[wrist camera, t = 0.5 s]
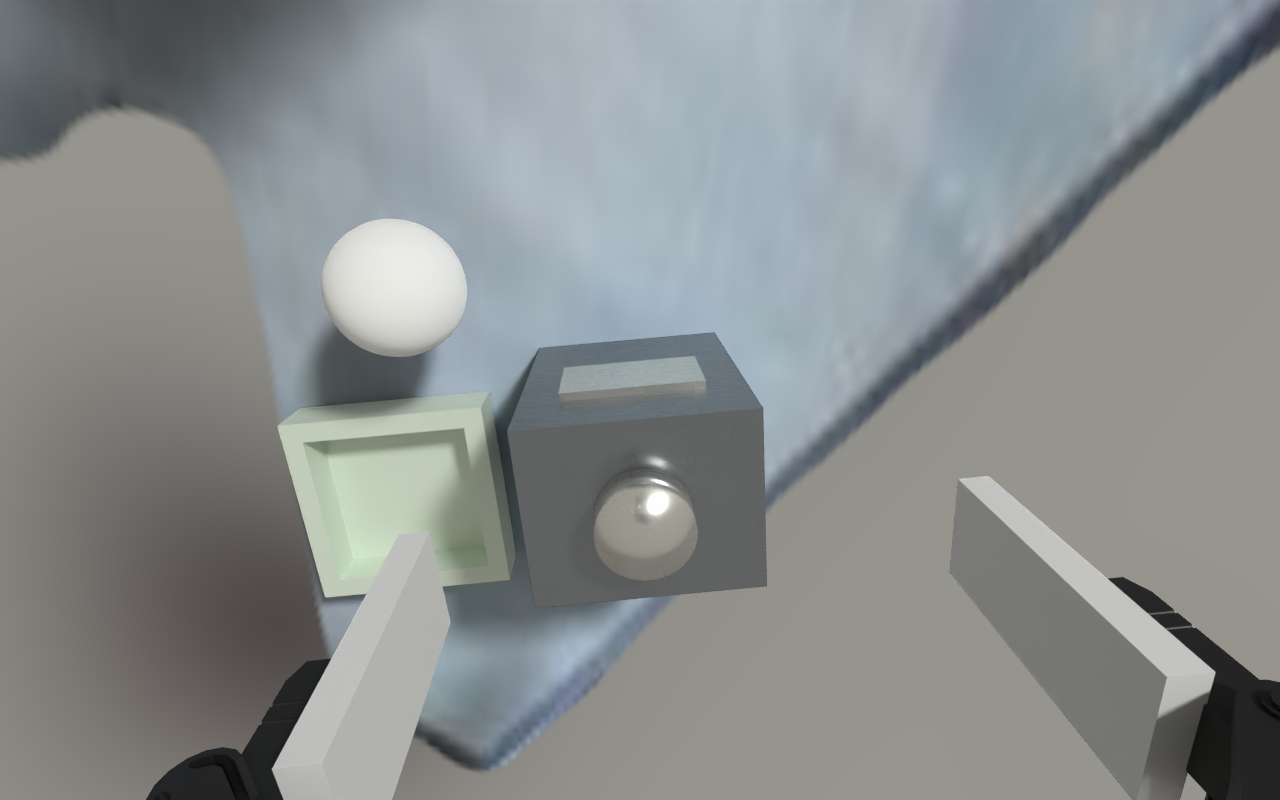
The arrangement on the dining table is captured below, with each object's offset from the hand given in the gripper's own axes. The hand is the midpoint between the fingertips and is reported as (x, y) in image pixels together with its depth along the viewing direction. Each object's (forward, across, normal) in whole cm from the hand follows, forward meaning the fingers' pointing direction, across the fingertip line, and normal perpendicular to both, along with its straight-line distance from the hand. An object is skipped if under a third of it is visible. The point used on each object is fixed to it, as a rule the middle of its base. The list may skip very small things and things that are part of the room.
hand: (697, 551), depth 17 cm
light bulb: (+27, -12, +4) cm, 30 cm away
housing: (+26, -1, -6) cm, 27 cm away
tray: (+26, -16, -10) cm, 32 cm away
